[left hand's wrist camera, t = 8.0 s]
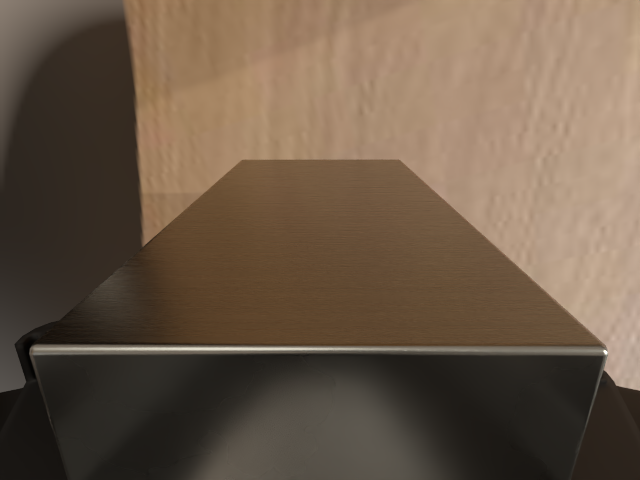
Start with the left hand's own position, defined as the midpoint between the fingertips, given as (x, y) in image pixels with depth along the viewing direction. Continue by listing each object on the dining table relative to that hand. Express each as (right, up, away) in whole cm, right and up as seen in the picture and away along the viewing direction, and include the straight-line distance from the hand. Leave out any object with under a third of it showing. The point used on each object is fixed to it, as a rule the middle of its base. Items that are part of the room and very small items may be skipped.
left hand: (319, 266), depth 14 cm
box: (0, -5, +5) cm, 7 cm away
